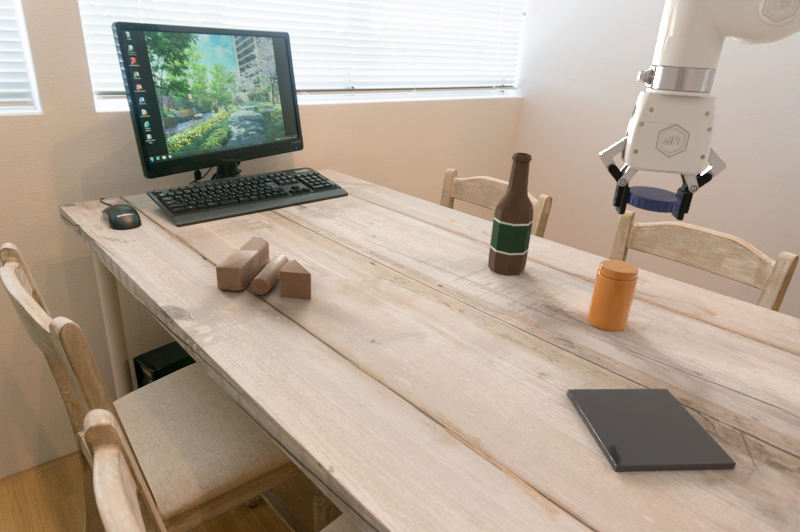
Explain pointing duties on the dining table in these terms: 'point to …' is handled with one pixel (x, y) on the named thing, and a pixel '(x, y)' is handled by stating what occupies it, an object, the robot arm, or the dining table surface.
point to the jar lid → (654, 199)
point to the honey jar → (612, 295)
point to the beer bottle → (512, 222)
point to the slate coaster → (647, 430)
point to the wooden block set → (247, 265)
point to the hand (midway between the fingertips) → (648, 214)
